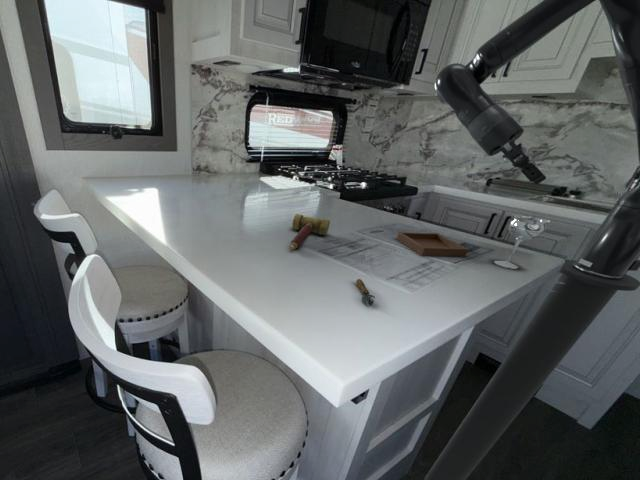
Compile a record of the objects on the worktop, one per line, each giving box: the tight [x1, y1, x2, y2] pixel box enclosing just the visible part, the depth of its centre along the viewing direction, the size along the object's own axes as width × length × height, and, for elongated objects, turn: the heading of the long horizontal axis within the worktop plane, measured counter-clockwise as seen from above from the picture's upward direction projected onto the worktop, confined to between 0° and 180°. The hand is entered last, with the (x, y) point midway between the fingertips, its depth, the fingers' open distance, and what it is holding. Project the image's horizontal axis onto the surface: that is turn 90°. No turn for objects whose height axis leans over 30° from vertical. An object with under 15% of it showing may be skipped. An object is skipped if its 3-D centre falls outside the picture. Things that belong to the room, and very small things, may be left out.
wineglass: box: [493, 213, 551, 270], centre depth 75 cm, size 7×7×12 cm
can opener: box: [356, 278, 376, 306], centre depth 59 cm, size 9×2×1 cm, turn 171°
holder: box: [396, 231, 469, 258], centre depth 86 cm, size 13×13×2 cm
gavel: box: [290, 213, 331, 250], centre depth 84 cm, size 21×5×10 cm
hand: (539, 180), depth 71 cm, fingers open, 8 cm apart
